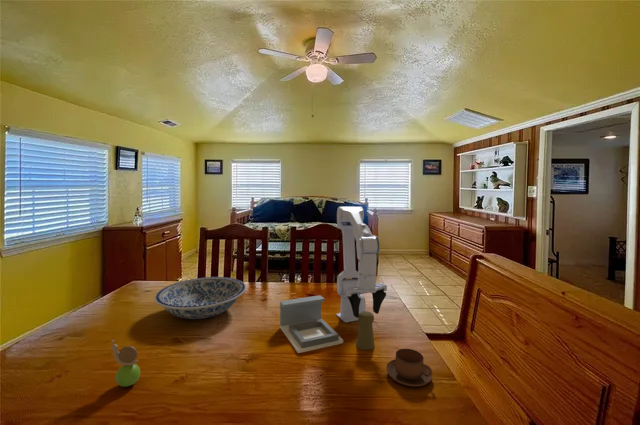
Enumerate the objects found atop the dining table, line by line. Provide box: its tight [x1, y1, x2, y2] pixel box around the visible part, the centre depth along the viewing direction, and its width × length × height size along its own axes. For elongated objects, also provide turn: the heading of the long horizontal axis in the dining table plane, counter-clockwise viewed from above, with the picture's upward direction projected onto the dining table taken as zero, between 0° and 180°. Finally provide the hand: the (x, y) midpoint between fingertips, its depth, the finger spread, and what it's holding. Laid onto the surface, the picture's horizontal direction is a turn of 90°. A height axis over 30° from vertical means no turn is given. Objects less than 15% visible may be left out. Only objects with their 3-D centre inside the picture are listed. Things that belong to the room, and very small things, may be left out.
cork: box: [355, 310, 375, 351], centre depth 101 cm, size 6×6×11 cm
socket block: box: [279, 295, 344, 354], centre depth 108 cm, size 16×19×10 cm
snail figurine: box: [110, 339, 141, 388], centre depth 80 cm, size 5×6×12 cm
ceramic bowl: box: [154, 276, 247, 320], centre depth 126 cm, size 34×34×10 cm
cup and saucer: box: [386, 348, 433, 388], centre depth 85 cm, size 12×12×6 cm
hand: (366, 314), depth 101 cm, fingers open, 7 cm apart
